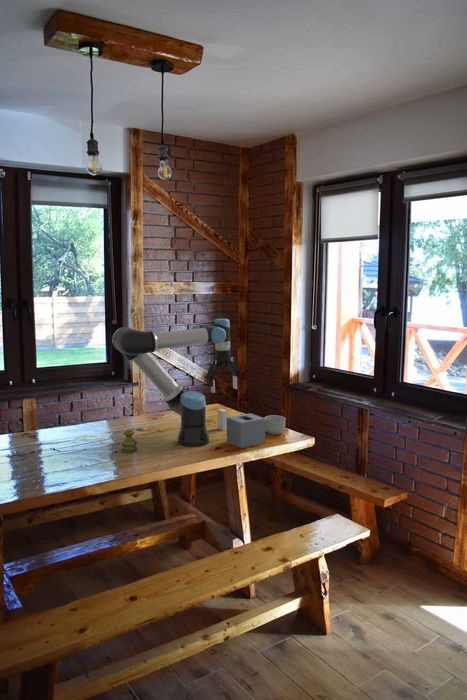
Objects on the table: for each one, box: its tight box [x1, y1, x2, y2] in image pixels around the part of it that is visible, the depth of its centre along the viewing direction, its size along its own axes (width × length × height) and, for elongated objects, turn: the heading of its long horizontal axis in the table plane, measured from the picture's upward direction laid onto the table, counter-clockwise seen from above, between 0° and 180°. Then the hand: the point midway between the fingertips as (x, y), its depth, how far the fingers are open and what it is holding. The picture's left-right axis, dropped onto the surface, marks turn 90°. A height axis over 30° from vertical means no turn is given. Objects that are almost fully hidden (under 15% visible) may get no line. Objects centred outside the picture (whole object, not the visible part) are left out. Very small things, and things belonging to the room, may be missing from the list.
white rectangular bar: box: [217, 408, 228, 431], centre depth 299 cm, size 2×5×10 cm, turn 34°
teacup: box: [264, 414, 286, 436], centre depth 292 cm, size 14×11×8 cm
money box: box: [226, 412, 266, 449], centre depth 276 cm, size 14×12×12 cm
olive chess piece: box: [120, 428, 138, 454], centre depth 263 cm, size 7×7×10 cm
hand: (224, 390), depth 296 cm, fingers open, 13 cm apart
